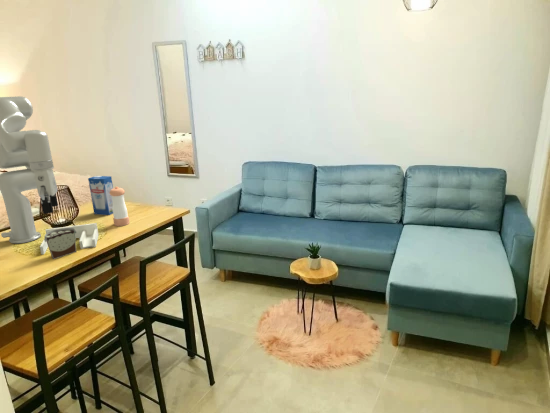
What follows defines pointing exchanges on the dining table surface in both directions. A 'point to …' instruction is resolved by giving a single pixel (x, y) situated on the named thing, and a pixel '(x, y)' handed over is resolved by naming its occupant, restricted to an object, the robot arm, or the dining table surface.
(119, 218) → the pepper shaker
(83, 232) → the rack
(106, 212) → the milk carton
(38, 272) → the dining table surface
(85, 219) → the dining table surface
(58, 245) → the food container
